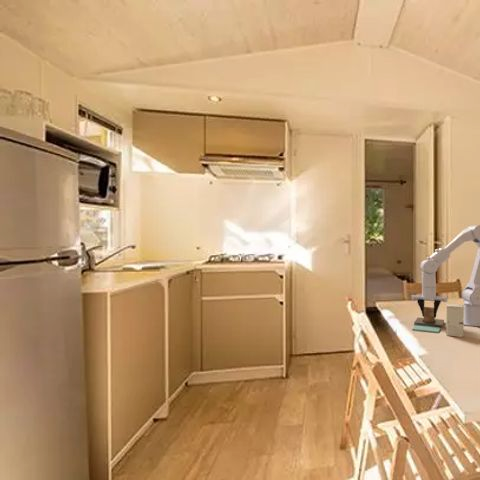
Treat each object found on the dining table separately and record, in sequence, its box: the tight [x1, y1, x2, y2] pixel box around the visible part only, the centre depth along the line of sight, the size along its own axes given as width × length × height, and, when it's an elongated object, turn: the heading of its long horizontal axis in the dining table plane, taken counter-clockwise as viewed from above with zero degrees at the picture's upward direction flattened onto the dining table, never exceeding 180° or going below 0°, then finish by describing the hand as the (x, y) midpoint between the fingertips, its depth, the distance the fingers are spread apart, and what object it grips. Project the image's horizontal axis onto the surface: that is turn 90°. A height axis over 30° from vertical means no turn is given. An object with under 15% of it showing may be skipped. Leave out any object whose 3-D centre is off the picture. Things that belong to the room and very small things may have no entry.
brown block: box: [423, 306, 436, 323], centre depth 173 cm, size 4×4×6 cm
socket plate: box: [413, 317, 445, 329], centre depth 173 cm, size 11×11×1 cm
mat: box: [411, 324, 441, 334], centre depth 163 cm, size 10×7×1 cm
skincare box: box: [445, 303, 464, 338], centre depth 154 cm, size 6×4×12 cm
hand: (429, 316), depth 173 cm, fingers closed on brown block, 4 cm apart
